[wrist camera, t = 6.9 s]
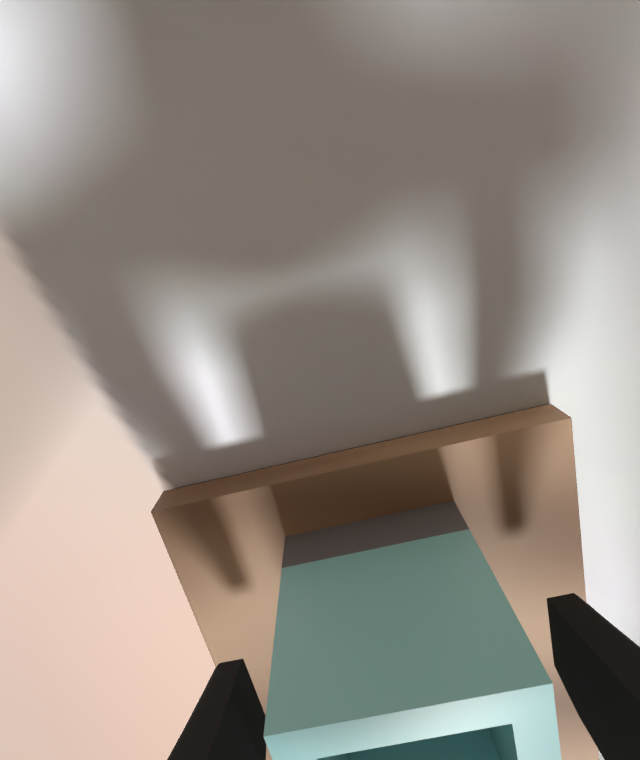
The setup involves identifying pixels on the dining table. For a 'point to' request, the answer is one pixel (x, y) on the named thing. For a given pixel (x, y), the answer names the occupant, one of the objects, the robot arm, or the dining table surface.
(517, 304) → the dining table surface
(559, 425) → the pin board
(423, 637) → the sleeve
